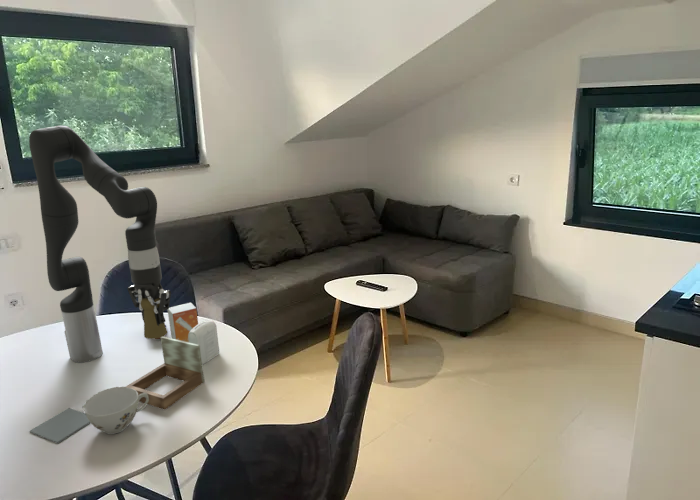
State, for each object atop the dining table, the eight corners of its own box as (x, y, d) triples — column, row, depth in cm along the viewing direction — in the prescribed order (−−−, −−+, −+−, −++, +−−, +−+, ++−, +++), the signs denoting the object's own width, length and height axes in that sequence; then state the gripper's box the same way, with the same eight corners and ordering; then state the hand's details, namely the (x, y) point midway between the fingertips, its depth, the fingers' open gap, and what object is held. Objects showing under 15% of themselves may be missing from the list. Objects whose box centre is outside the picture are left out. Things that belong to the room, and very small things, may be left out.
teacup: (94, 449, 123) (88, 421, 121) (84, 424, 133) (79, 397, 130) (158, 425, 131) (153, 398, 129) (145, 403, 141) (140, 377, 139)
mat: (29, 432, 131) (29, 430, 130) (69, 408, 140) (69, 407, 140) (57, 443, 126) (57, 442, 126) (96, 418, 135) (96, 417, 135)
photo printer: (211, 350, 169) (206, 316, 166) (221, 353, 168) (217, 318, 164) (189, 365, 161) (184, 329, 157) (200, 368, 159) (195, 331, 155)
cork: (139, 337, 140) (133, 299, 137) (154, 327, 146) (148, 291, 143) (157, 340, 138) (151, 302, 135) (172, 330, 144) (166, 293, 141)
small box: (177, 350, 171) (171, 313, 167) (171, 343, 176) (166, 307, 172) (201, 343, 175) (196, 307, 171) (195, 336, 180) (190, 301, 176)
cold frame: (127, 397, 144) (120, 359, 141) (168, 372, 157) (162, 336, 154) (165, 410, 138) (158, 370, 134) (204, 382, 151) (199, 344, 147)
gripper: (113, 265, 136) (124, 324, 141) (154, 271, 130) (163, 333, 135) (136, 256, 142) (145, 314, 147) (175, 262, 136) (183, 321, 142)
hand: (154, 323), depth 141 cm, fingers closed on cork, 4 cm apart
